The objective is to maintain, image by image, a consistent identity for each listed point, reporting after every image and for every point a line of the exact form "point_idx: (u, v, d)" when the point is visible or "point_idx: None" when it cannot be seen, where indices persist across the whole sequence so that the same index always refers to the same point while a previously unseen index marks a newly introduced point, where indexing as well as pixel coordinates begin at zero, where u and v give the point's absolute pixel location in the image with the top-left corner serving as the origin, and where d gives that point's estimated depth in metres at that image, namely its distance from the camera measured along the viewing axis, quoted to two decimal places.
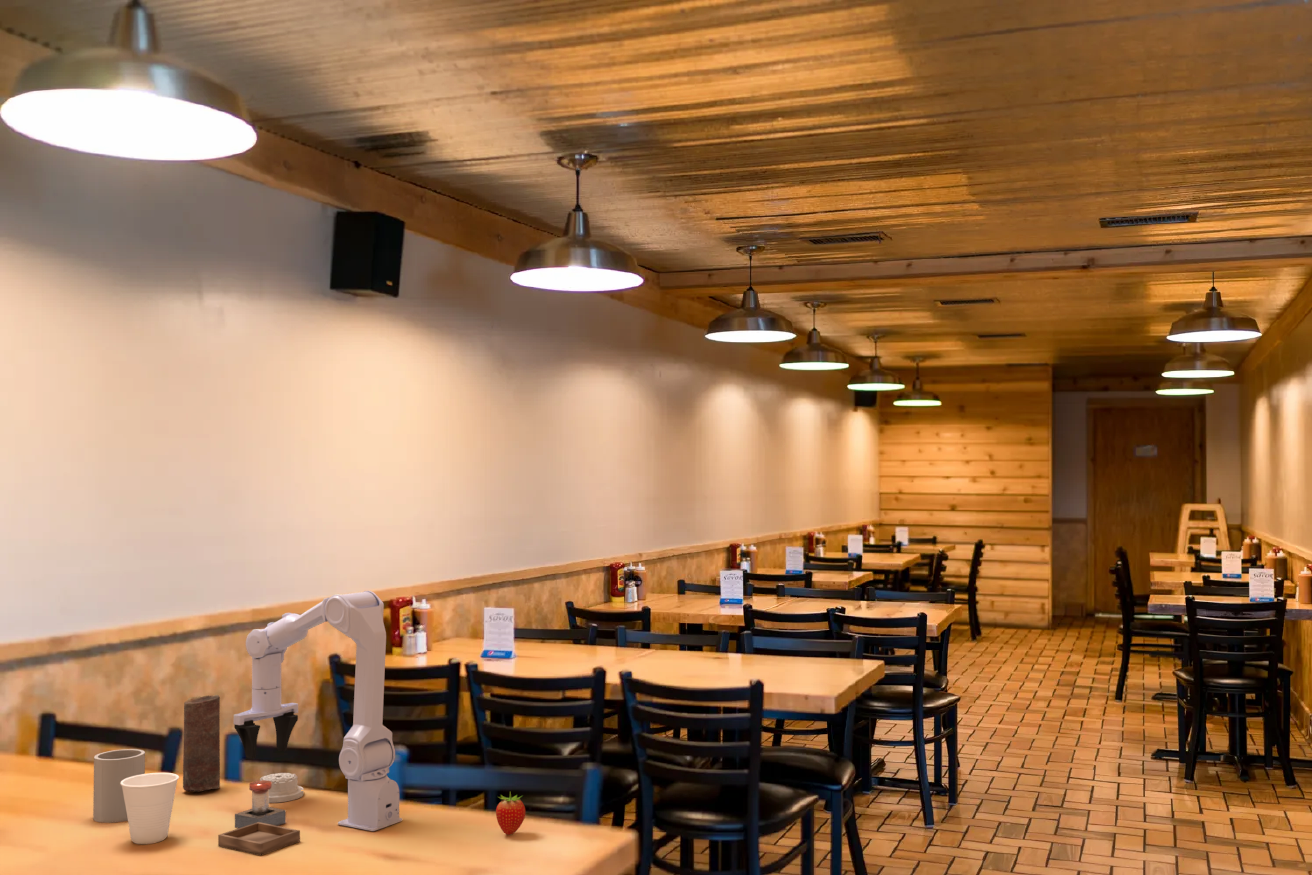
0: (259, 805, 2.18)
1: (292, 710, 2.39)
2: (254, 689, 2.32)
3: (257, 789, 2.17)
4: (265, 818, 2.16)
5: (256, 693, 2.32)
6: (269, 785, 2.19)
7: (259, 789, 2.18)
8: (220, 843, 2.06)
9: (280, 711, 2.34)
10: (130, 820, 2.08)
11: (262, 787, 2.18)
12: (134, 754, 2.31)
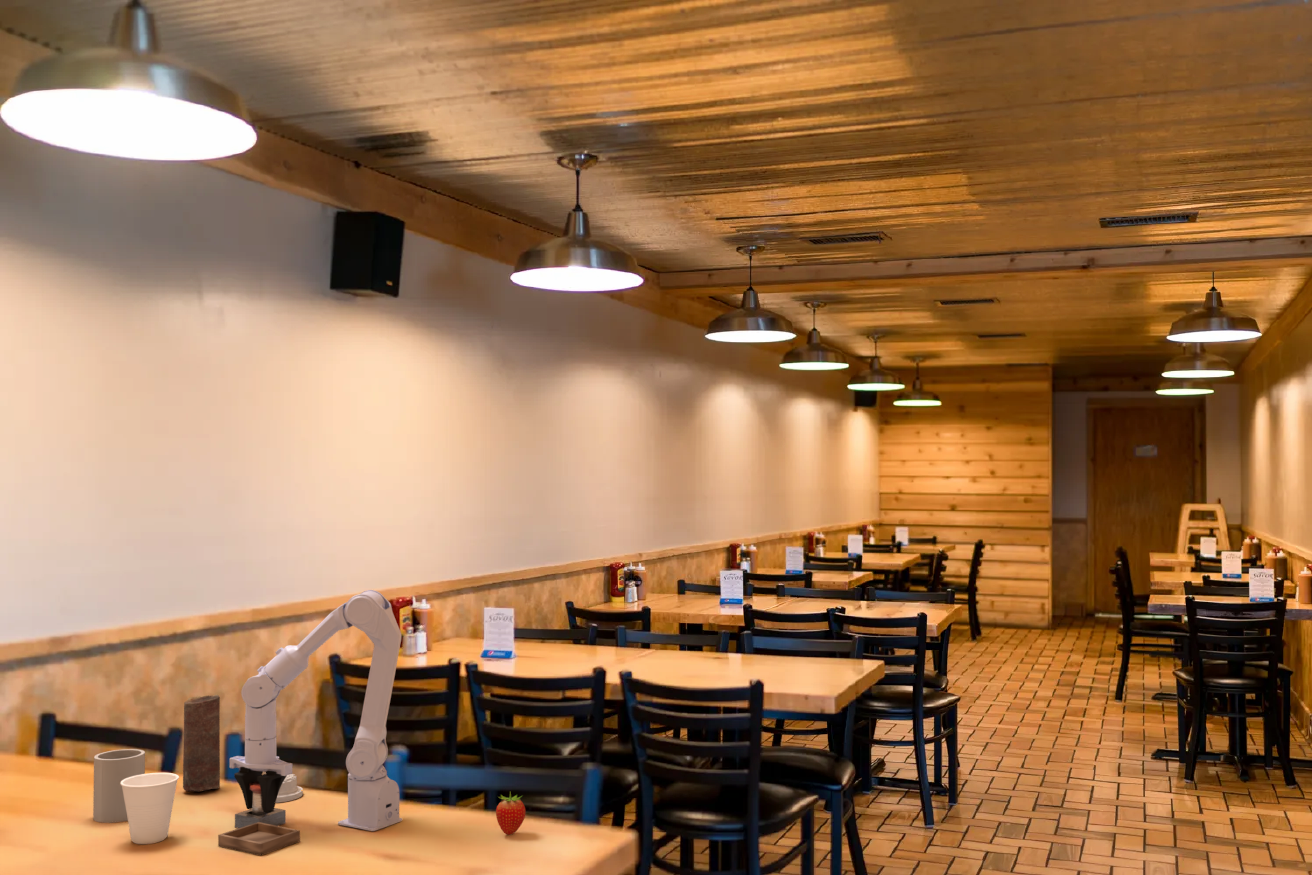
0: (259, 805, 2.18)
1: None
2: None
3: (257, 789, 2.17)
4: (265, 818, 2.16)
5: None
6: None
7: (259, 789, 2.18)
8: (220, 843, 2.06)
9: (253, 766, 2.17)
10: (130, 820, 2.08)
11: None
12: (134, 754, 2.31)
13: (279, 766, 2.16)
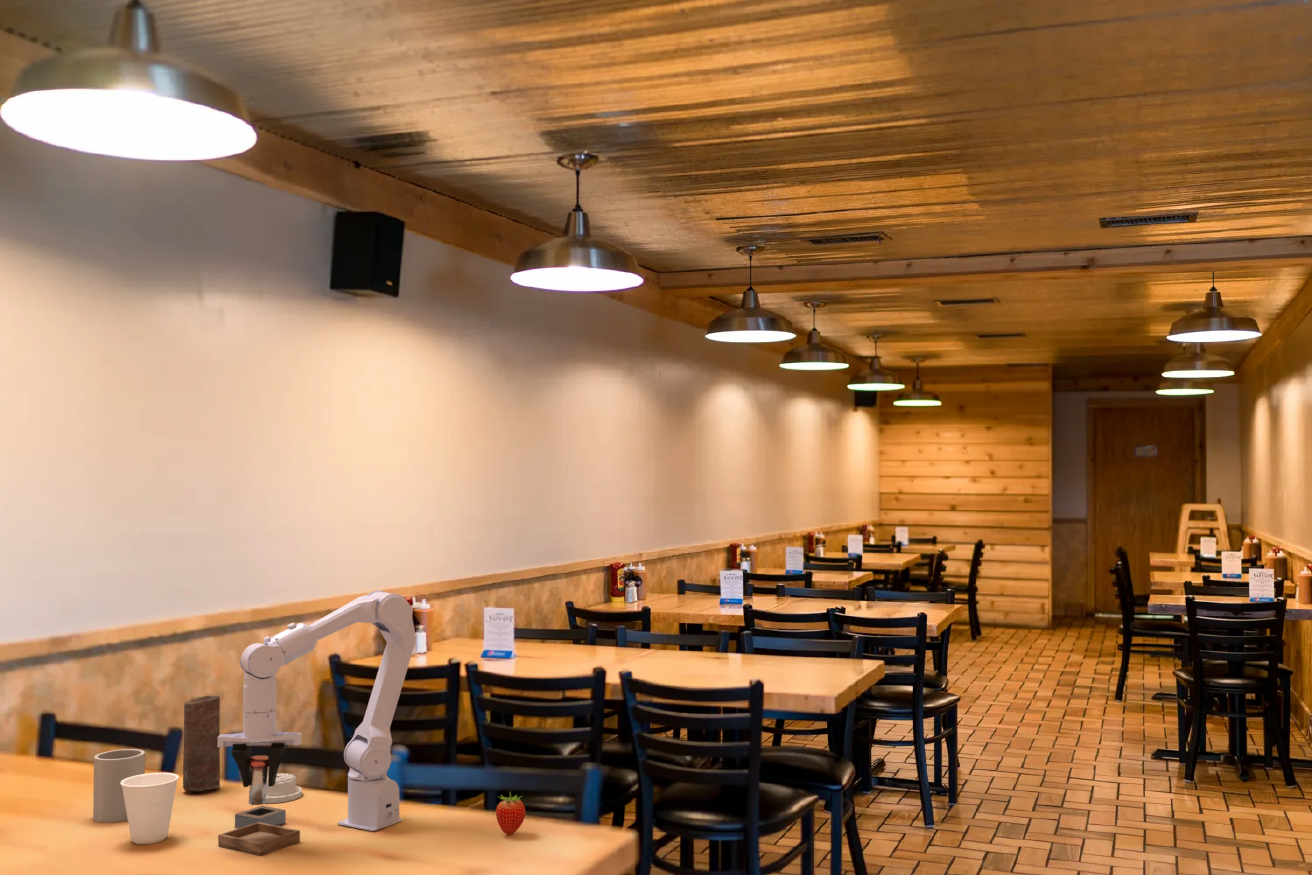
0: (262, 781, 2.08)
1: (293, 741, 2.09)
2: None
3: (263, 765, 2.08)
4: (265, 818, 2.16)
5: None
6: None
7: (265, 765, 2.08)
8: (220, 843, 2.06)
9: (262, 740, 2.07)
10: (130, 820, 2.08)
11: (267, 763, 2.09)
12: (134, 754, 2.31)
13: (291, 736, 2.09)
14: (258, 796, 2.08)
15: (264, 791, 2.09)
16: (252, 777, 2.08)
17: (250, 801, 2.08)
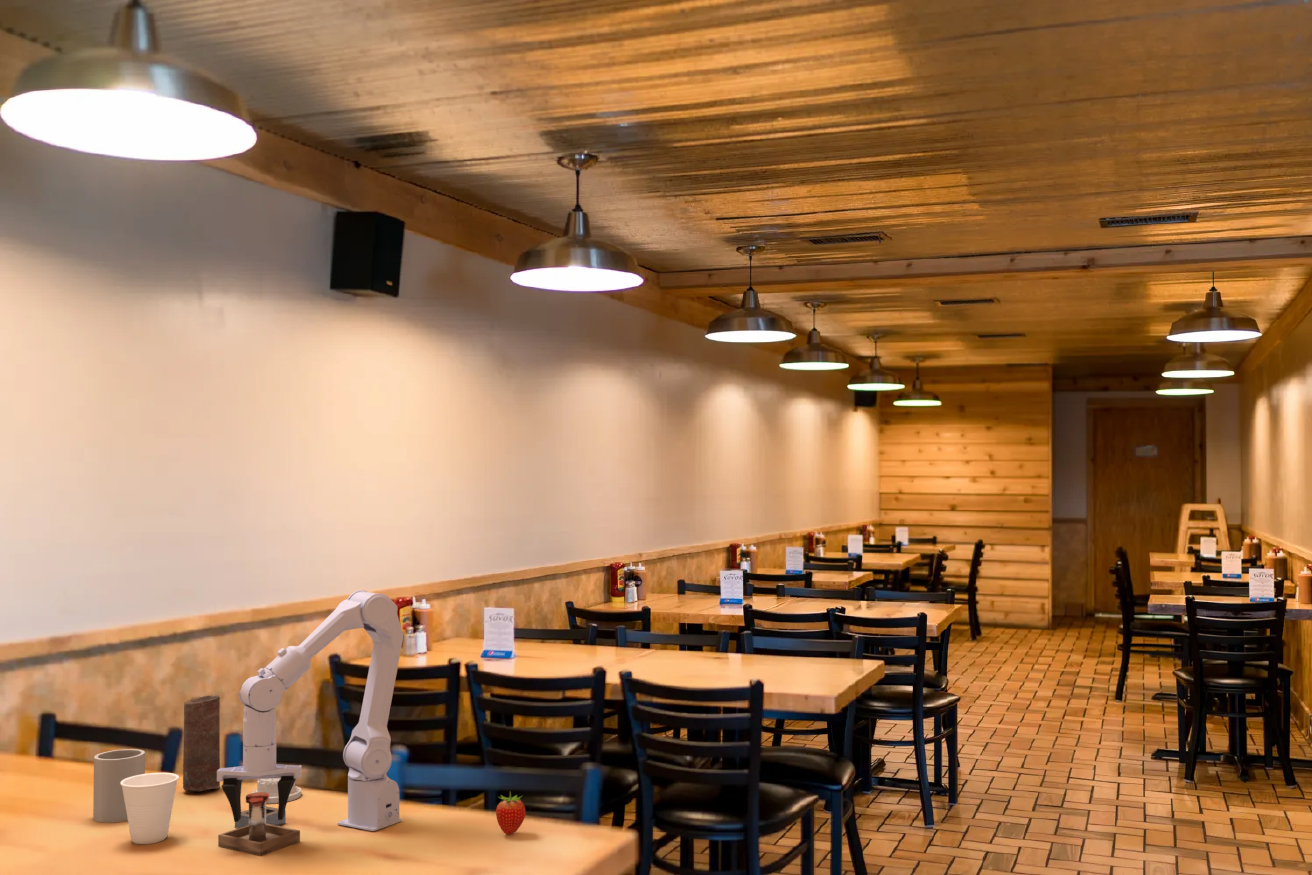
0: (261, 817, 2.08)
1: (293, 774, 2.09)
2: None
3: (261, 801, 2.07)
4: None
5: None
6: (268, 795, 2.09)
7: (263, 800, 2.07)
8: (220, 843, 2.06)
9: (262, 774, 2.06)
10: (130, 820, 2.08)
11: (265, 798, 2.08)
12: (134, 754, 2.31)
13: (292, 769, 2.08)
14: (258, 833, 2.07)
15: (264, 827, 2.08)
16: (251, 814, 2.07)
17: (250, 838, 2.07)
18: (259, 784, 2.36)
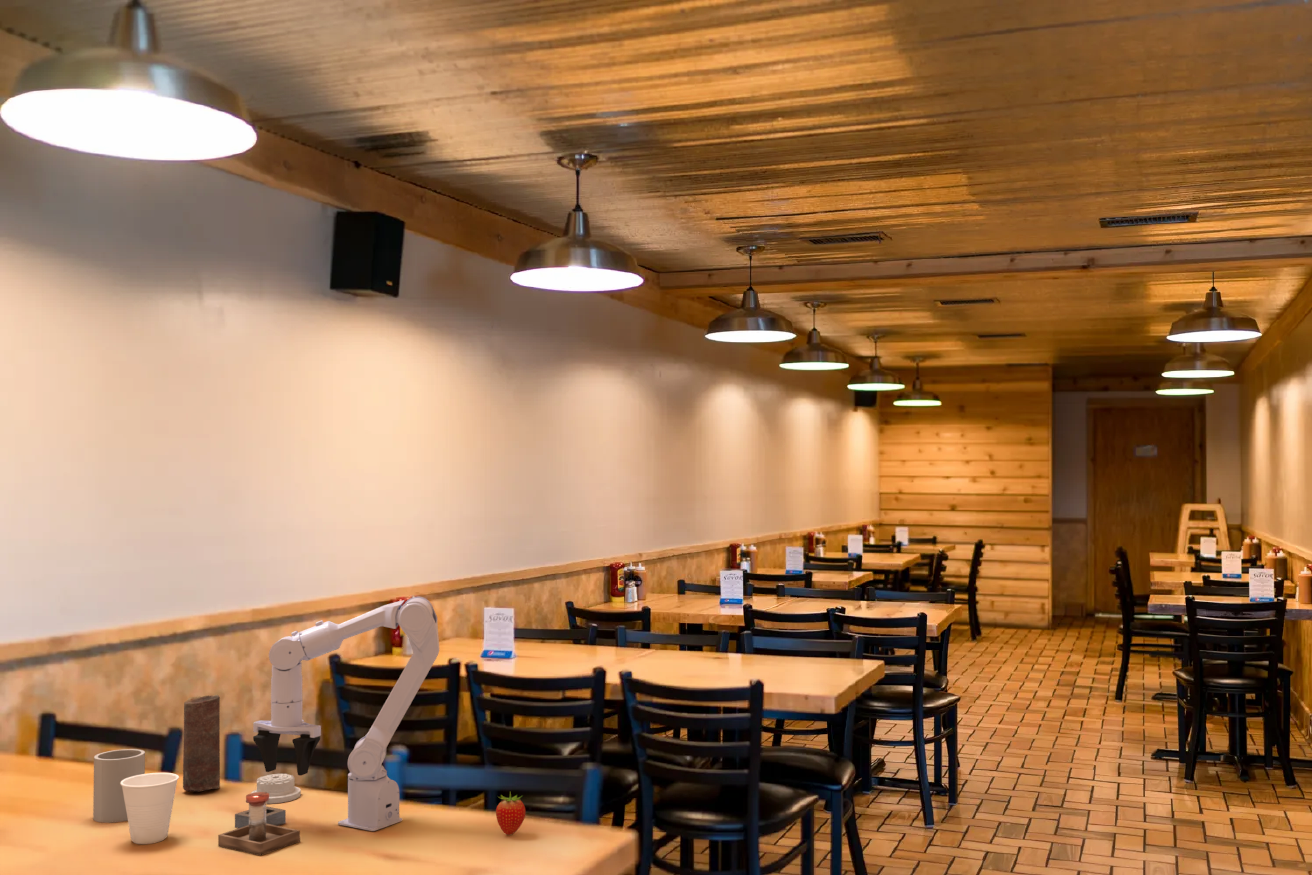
0: (261, 817, 2.08)
1: None
2: None
3: (261, 801, 2.07)
4: None
5: None
6: None
7: (263, 800, 2.07)
8: (220, 843, 2.06)
9: (281, 729, 2.16)
10: (130, 820, 2.08)
11: (265, 798, 2.08)
12: (134, 754, 2.31)
13: (308, 728, 2.16)
14: (258, 833, 2.07)
15: (264, 827, 2.08)
16: (251, 814, 2.07)
17: (250, 838, 2.07)
18: (258, 784, 2.36)
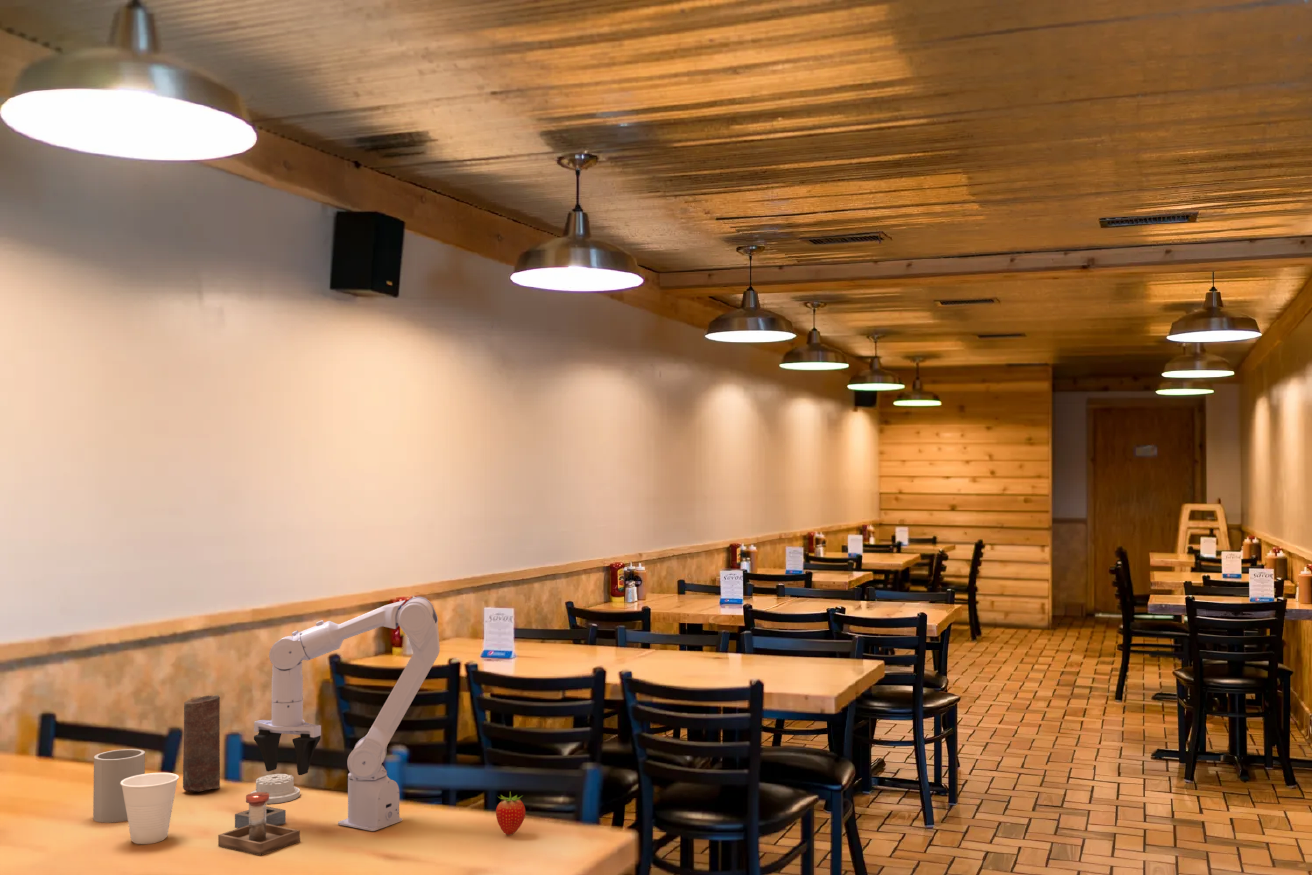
0: (261, 817, 2.08)
1: None
2: None
3: (261, 801, 2.07)
4: None
5: None
6: None
7: (263, 800, 2.07)
8: (220, 843, 2.06)
9: (281, 729, 2.16)
10: (130, 820, 2.08)
11: (265, 798, 2.08)
12: (134, 754, 2.31)
13: (308, 728, 2.16)
14: (258, 833, 2.07)
15: (264, 827, 2.08)
16: (251, 814, 2.07)
17: (250, 838, 2.07)
18: (257, 784, 2.36)
